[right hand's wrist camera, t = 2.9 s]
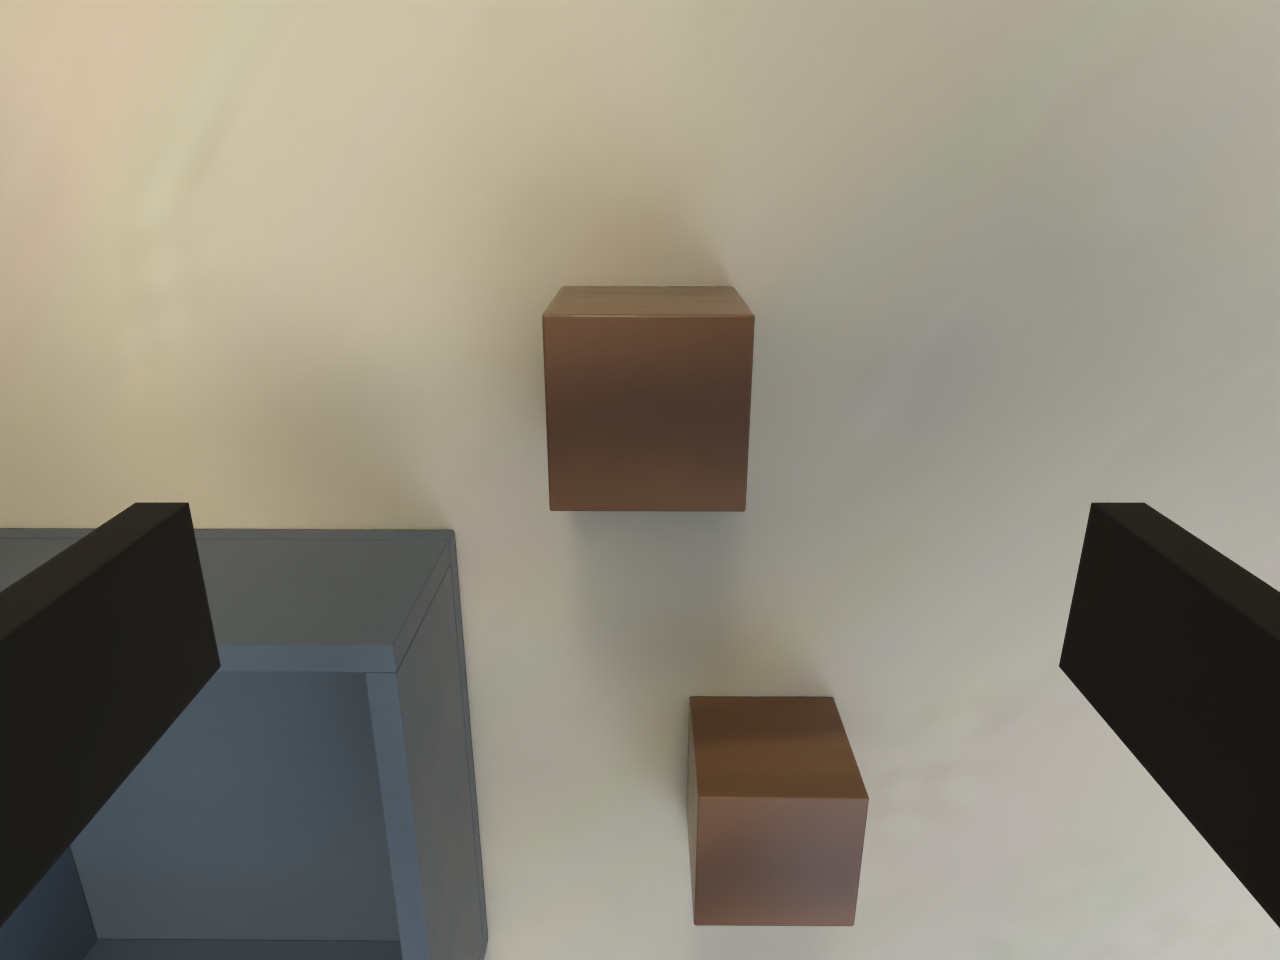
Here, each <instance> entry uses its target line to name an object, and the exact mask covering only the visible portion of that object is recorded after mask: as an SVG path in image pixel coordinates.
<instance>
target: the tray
mask: <svg viewBox="0 0 1280 960" xmlns="http://www.w3.org/2000/svg"><path fill="white" fill-rule="evenodd" d="M94 530H95V529H0V592H1V591H3V590H4V589H6V588H7V587H9V586H10V585H12V584H13V583H15V582H16V581H18V580H19V579H21V578H23V577H24V576H26V575H27V574H29V573H30V572H32V571H33V570H35V569H36V568H38V567H39V566H41V565H42V564H44V563H45V562H47V561H48V560H50V559H51V558H53V557H54V556H56V555H57V554H59V553H60V552H62V551H63V550H65V549H66V548H68V547H69V546H71V545H72V544H74V543H75V542H77V541H79V540H80V539H82V538H83V537H85V536H86V535H88V534H89V533H91V532H92V531H94ZM194 533H195V538H196V543H197V548H198V553H199V558H200V563H201V568H202V573H203V578H204V583H205V588H206V594H207V599H208V604H209V609H210V614H211V619H212V624H213V629H214V634H215V639H216V644H217V649H218V654H219V659H220V664H221V667H220V668H219V669H218V670H217V672H216V673H215V674H214V675H213V676H212V678H211V679H210V680H209V681H208V682H207V683H206V685H205V686H204V687H203V688H202V689H201V691H200V692H199V693H198V694H197V695H196V696H195V698H194V699H193V700H192V701H191V702H190V704H189V705H188V706H187V707H186V708H185V710H184V711H183V712H182V713H181V714H180V715H179V717H178V718H177V719H176V720H175V721H174V723H173V724H172V725H171V726H170V727H169V728H168V730H167V731H166V732H165V733H164V734H163V736H162V737H161V738H160V739H159V740H158V742H157V743H156V744H155V745H154V746H153V747H152V749H151V750H150V751H149V752H148V753H147V755H146V756H145V757H144V758H143V759H142V760H141V762H140V763H139V764H138V765H137V766H136V768H135V769H134V770H133V771H132V772H131V774H130V775H129V776H128V777H127V778H126V779H125V781H124V782H123V783H122V784H121V785H120V787H119V788H118V789H117V790H116V791H115V792H114V794H113V795H112V796H111V797H110V798H109V800H108V801H107V802H106V803H105V804H104V806H103V807H102V808H101V809H100V810H99V811H98V813H97V814H96V815H95V816H94V817H93V819H92V820H91V821H90V822H89V823H88V825H87V826H86V827H85V828H84V829H83V830H82V832H81V833H80V834H79V835H78V836H77V838H76V839H75V840H74V841H73V842H72V843H71V845H70V846H69V847H68V848H67V849H66V851H65V852H64V853H63V854H62V855H61V857H60V858H59V859H58V860H57V861H56V862H55V864H54V865H53V866H52V867H51V868H50V870H49V871H48V872H47V873H46V874H45V875H44V877H43V878H42V879H41V880H40V881H39V883H38V884H37V885H36V886H35V887H34V889H33V890H32V891H31V892H30V893H29V894H28V896H27V897H26V898H25V899H24V900H23V902H22V903H21V904H20V905H19V906H18V907H17V909H16V910H15V911H14V912H13V913H12V915H11V916H10V917H9V918H8V919H7V921H6V922H5V923H4V924H3V925H2V926H1V928H0V960H484V955H485V951H486V946H487V941H488V933H487V921H486V909H485V897H484V885H483V873H482V861H481V849H480V837H479V825H478V813H477V801H476V789H475V777H474V765H473V753H472V741H471V729H470V717H469V705H468V693H467V681H466V669H465V657H464V645H463V633H462V621H461V609H460V597H459V585H458V573H457V561H456V549H455V537H454V531H453V530H223V529H194Z"/></svg>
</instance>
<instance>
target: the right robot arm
mask: <svg viewBox="0 0 1280 960" xmlns="http://www.w3.org/2000/svg"><path fill="white" fill-rule="evenodd" d="M220 667H221V664H220V659H219V654H218V649H217V644H216V639H215V634H214V629H213V624H212V619H211V614H210V609H209V604H208V599H207V594H206V588H205V583H204V578H203V573H202V568H201V563H200V558H199V553H198V548H197V543H196V538H195V533H194V528H193V523H192V518H191V513H190V508H189V503H135V504H133V505H131V506H130V507H128V508H127V509H125V510H124V511H122V512H121V513H119V514H118V515H116V516H115V517H113V518H112V519H110V520H109V521H107V522H106V523H104V524H103V525H101V526H100V527H98V528H97V529H95V530H94V531H92V532H91V533H89V534H88V535H86V536H85V537H83V538H82V539H80V540H79V541H77V542H75V543H74V544H72V545H71V546H69V547H68V548H66V549H65V550H63V551H62V552H60V553H59V554H57V555H56V556H54V557H53V558H51V559H50V560H48V561H47V562H45V563H44V564H42V565H41V566H39V567H38V568H36V569H35V570H33V571H32V572H30V573H29V574H27V575H26V576H24V577H23V578H21V579H19V580H18V581H16V582H15V583H13V584H12V585H10V586H9V587H7V588H6V589H4V590H3V591H1V592H0V928H1V926H2V925H3V924H4V923H5V922H6V921H7V919H8V918H9V917H10V916H11V915H12V913H13V912H14V911H15V910H16V909H17V907H18V906H19V905H20V904H21V903H22V902H23V900H24V899H25V898H26V897H27V896H28V894H29V893H30V892H31V891H32V890H33V889H34V887H35V886H36V885H37V884H38V883H39V881H40V880H41V879H42V878H43V877H44V875H45V874H46V873H47V872H48V871H49V870H50V868H51V867H52V866H53V865H54V864H55V862H56V861H57V860H58V859H59V858H60V857H61V855H62V854H63V853H64V852H65V851H66V849H67V848H68V847H69V846H70V845H71V843H72V842H73V841H74V840H75V839H76V838H77V836H78V835H79V834H80V833H81V832H82V830H83V829H84V828H85V827H86V826H87V825H88V823H89V822H90V821H91V820H92V819H93V817H94V816H95V815H96V814H97V813H98V811H99V810H100V809H101V808H102V807H103V806H104V804H105V803H106V802H107V801H108V800H109V798H110V797H111V796H112V795H113V794H114V792H115V791H116V790H117V789H118V788H119V787H120V785H121V784H122V783H123V782H124V781H125V779H126V778H127V777H128V776H129V775H130V774H131V772H132V771H133V770H134V769H135V768H136V766H137V765H138V764H139V763H140V762H141V760H142V759H143V758H144V757H145V756H146V755H147V753H148V752H149V751H150V750H151V749H152V747H153V746H154V745H155V744H156V743H157V742H158V740H159V739H160V738H161V737H162V736H163V734H164V733H165V732H166V731H167V730H168V728H169V727H170V726H171V725H172V724H173V723H174V721H175V720H176V719H177V718H178V717H179V715H180V714H181V713H182V712H183V711H184V710H185V708H186V707H187V706H188V705H189V704H190V702H191V701H192V700H193V699H194V698H195V696H196V695H197V694H198V693H199V692H200V691H201V689H202V688H203V687H204V686H205V685H206V683H207V682H208V681H209V680H210V679H211V678H212V676H213V675H214V674H215V673H216V672H217V670H218V669H219V668H220ZM1059 667H1060V668H1061V669H1062V670H1063V672H1064V673H1065V674H1066V675H1067V676H1068V678H1069V679H1070V680H1071V681H1072V682H1073V683H1074V685H1075V686H1076V687H1077V688H1078V689H1079V691H1080V692H1081V693H1082V694H1083V695H1084V696H1085V698H1086V699H1087V700H1088V701H1089V702H1090V704H1091V705H1092V706H1093V707H1094V708H1095V710H1096V711H1097V712H1098V713H1099V714H1100V715H1101V717H1102V718H1103V719H1104V720H1105V721H1106V723H1107V724H1108V725H1109V726H1110V727H1111V728H1112V730H1113V731H1114V732H1115V733H1116V734H1117V736H1118V737H1119V738H1120V739H1121V740H1122V742H1123V743H1124V744H1125V745H1126V746H1127V747H1128V749H1129V750H1130V751H1131V752H1132V753H1133V755H1134V756H1135V757H1136V758H1137V759H1138V760H1139V762H1140V763H1141V764H1142V765H1143V766H1144V768H1145V769H1146V770H1147V771H1148V772H1149V774H1150V775H1151V776H1152V777H1153V778H1154V779H1155V781H1156V782H1157V783H1158V784H1159V785H1160V787H1161V788H1162V789H1163V790H1164V791H1165V792H1166V794H1167V795H1168V796H1169V797H1170V798H1171V800H1172V801H1173V802H1174V803H1175V804H1176V806H1177V807H1178V808H1179V809H1180V810H1181V811H1182V813H1183V814H1184V815H1185V816H1186V817H1187V819H1188V820H1189V821H1190V822H1191V823H1192V825H1193V826H1194V827H1195V828H1196V829H1197V830H1198V832H1199V833H1200V834H1201V835H1202V836H1203V838H1204V839H1205V840H1206V841H1207V842H1208V843H1209V845H1210V846H1211V847H1212V848H1213V849H1214V851H1215V852H1216V853H1217V854H1218V855H1219V857H1220V858H1221V859H1222V860H1223V861H1224V862H1225V864H1226V865H1227V866H1228V867H1229V868H1230V870H1231V871H1232V872H1233V873H1234V874H1235V875H1236V877H1237V878H1238V879H1239V880H1240V881H1241V883H1242V884H1243V885H1244V886H1245V887H1246V889H1247V890H1248V891H1249V892H1250V893H1251V894H1252V896H1253V897H1254V898H1255V899H1256V900H1257V902H1258V903H1259V904H1260V905H1261V906H1262V907H1263V909H1264V910H1265V911H1266V912H1267V913H1268V915H1269V916H1270V917H1271V918H1272V919H1273V921H1274V922H1275V923H1276V924H1277V925H1278V926H1279V928H1280V592H1279V591H1277V590H1276V589H1274V588H1273V587H1271V586H1270V585H1268V584H1267V583H1265V582H1264V581H1262V580H1261V579H1259V578H1257V577H1256V576H1254V575H1253V574H1251V573H1250V572H1248V571H1247V570H1245V569H1244V568H1242V567H1241V566H1239V565H1238V564H1236V563H1235V562H1233V561H1232V560H1230V559H1229V558H1227V557H1226V556H1224V555H1223V554H1221V553H1220V552H1218V551H1217V550H1215V549H1214V548H1212V547H1211V546H1209V545H1208V544H1206V543H1204V542H1203V541H1201V540H1200V539H1198V538H1197V537H1195V536H1194V535H1192V534H1191V533H1189V532H1188V531H1186V530H1185V529H1183V528H1182V527H1180V526H1179V525H1177V524H1176V523H1174V522H1173V521H1171V520H1170V519H1168V518H1167V517H1165V516H1164V515H1162V514H1161V513H1159V512H1158V511H1156V510H1155V509H1153V508H1152V507H1150V506H1148V505H1147V504H1145V503H1091V508H1090V513H1089V518H1088V523H1087V528H1086V533H1085V538H1084V543H1083V548H1082V553H1081V558H1080V563H1079V568H1078V573H1077V578H1076V583H1075V588H1074V594H1073V599H1072V604H1071V609H1070V614H1069V619H1068V624H1067V629H1066V634H1065V639H1064V644H1063V649H1062V654H1061V659H1060V664H1059Z"/></svg>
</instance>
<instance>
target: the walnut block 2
mask: <svg viewBox="0 0 1280 960" xmlns="http://www.w3.org/2000/svg"><path fill="white" fill-rule="evenodd" d="M868 801H869V797H868V794H867V792H866V789H865V786H864V783H863V780H862V777H861V775H860V772H859V769H858V766H857V763H856V760H855V758H854V755H853V752H852V749H851V746H850V743H849V741H848V738H847V735H846V732H845V729H844V726H843V724H842V721H841V718H840V715H839V712H838V709H837V707H836V704H835V701H834V698H828V697H690V703H689V744H688V784H687V822H688V838H689V853H690V869H691V885H692V900H693V916H694V924H695V925H733V926H854V920H855V911H856V903H857V894H858V886H859V877H860V869H861V860H862V852H863V843H864V835H865V826H866V818H867V809H868Z"/></svg>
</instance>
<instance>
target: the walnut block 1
mask: <svg viewBox="0 0 1280 960" xmlns="http://www.w3.org/2000/svg"><path fill="white" fill-rule="evenodd" d="M754 323H755V316H754V314H753V313H752V312H751V310H750V309H749V308H748V306H747V305H746V303H745V302H744V301H743V299H742V298H741V297H740V295H739V294H738V292H737V291H736V290H735V288H734V287H562V288H561V289H560V291H559V292H558V294H557V295H556V297H555V298H554V300H553V301H552V302H551V304H550V305H549V307H548V308H547V310H546V311H545V313H544V314H543V316H542V325H543V350H544V375H545V401H546V426H547V451H548V476H549V501H550V510H551V511H745V509H746V491H747V470H748V449H749V428H750V407H751V386H752V365H753V344H754Z"/></svg>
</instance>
